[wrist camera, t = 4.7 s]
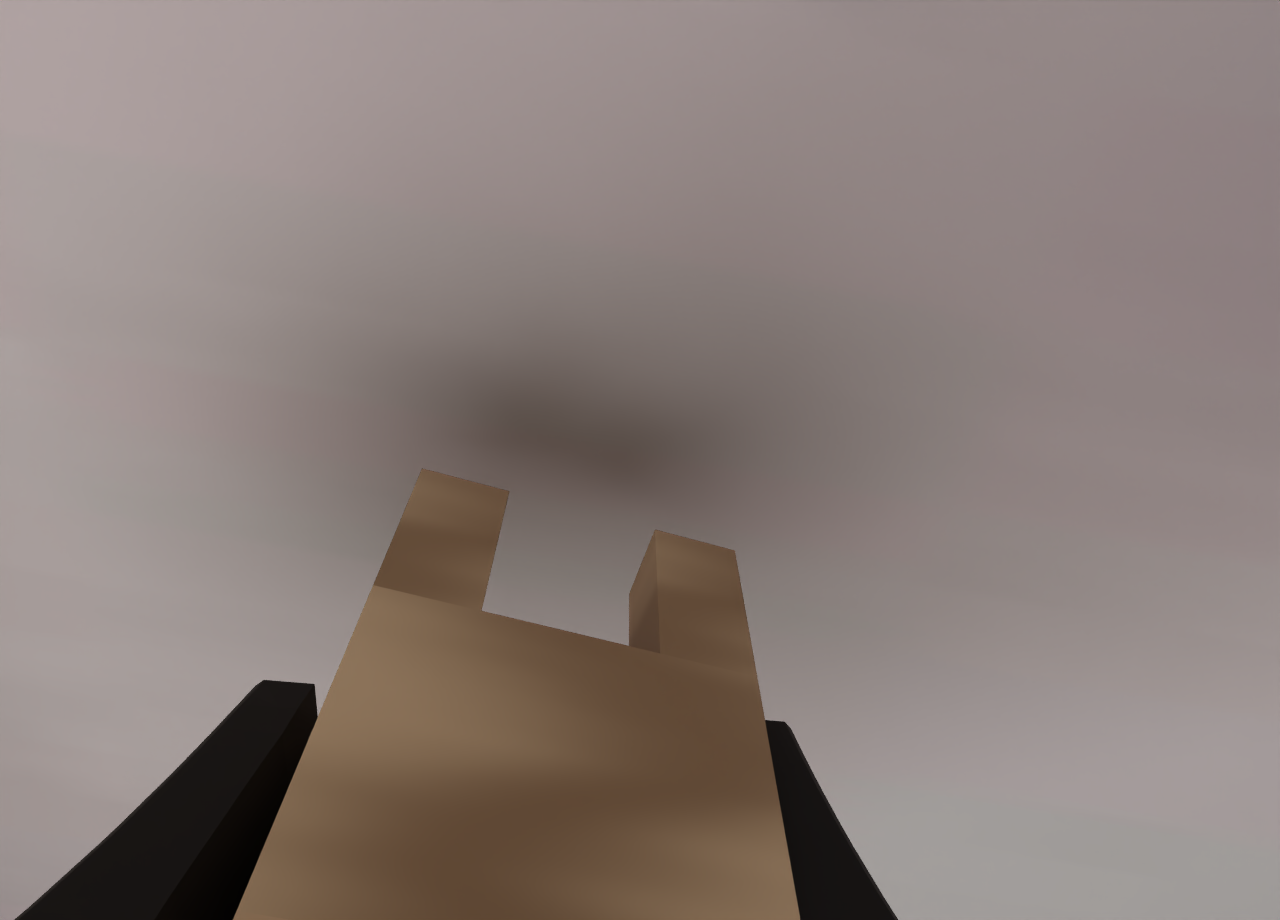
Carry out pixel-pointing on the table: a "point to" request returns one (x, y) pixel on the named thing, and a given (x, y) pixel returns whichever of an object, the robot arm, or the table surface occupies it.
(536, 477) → the table surface
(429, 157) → the table surface
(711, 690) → the notched wooden block
